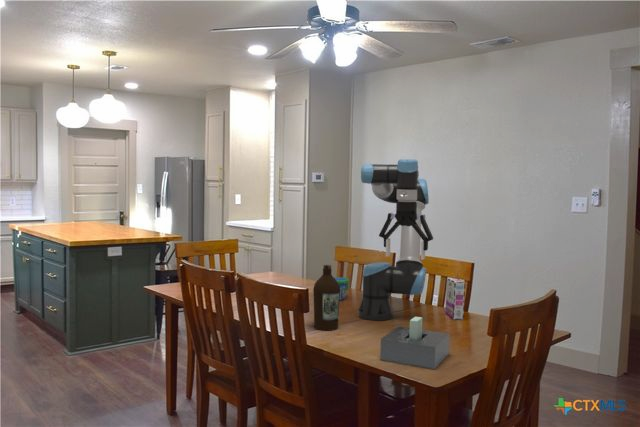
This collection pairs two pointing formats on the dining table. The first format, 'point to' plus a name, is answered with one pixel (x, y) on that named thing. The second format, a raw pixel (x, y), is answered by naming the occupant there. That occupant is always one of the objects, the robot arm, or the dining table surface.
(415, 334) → the pale green flat block
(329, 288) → the olive oil
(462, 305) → the candy bar box
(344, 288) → the snack cup
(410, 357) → the grey slotted box
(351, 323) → the dining table surface
